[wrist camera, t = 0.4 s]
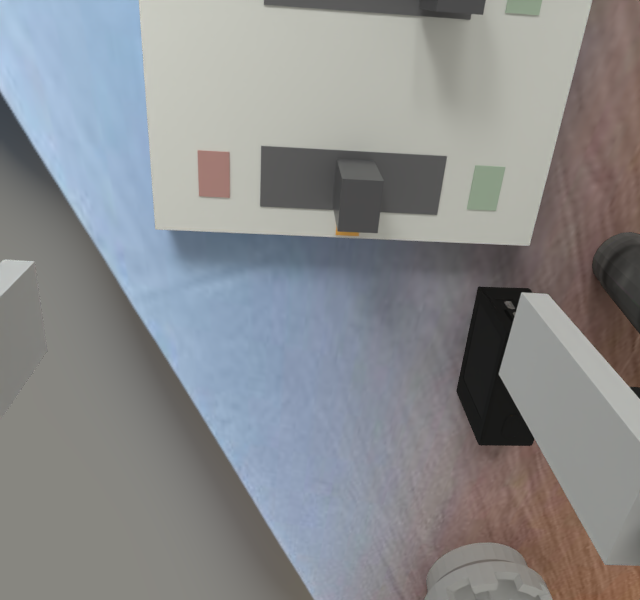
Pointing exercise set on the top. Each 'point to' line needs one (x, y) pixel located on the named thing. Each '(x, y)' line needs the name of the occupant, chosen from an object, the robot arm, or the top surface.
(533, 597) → the flag stand
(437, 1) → the block
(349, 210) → the block
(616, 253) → the beverage cup
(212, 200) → the breaker panel
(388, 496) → the top surface
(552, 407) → the robot arm
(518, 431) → the digital camera
